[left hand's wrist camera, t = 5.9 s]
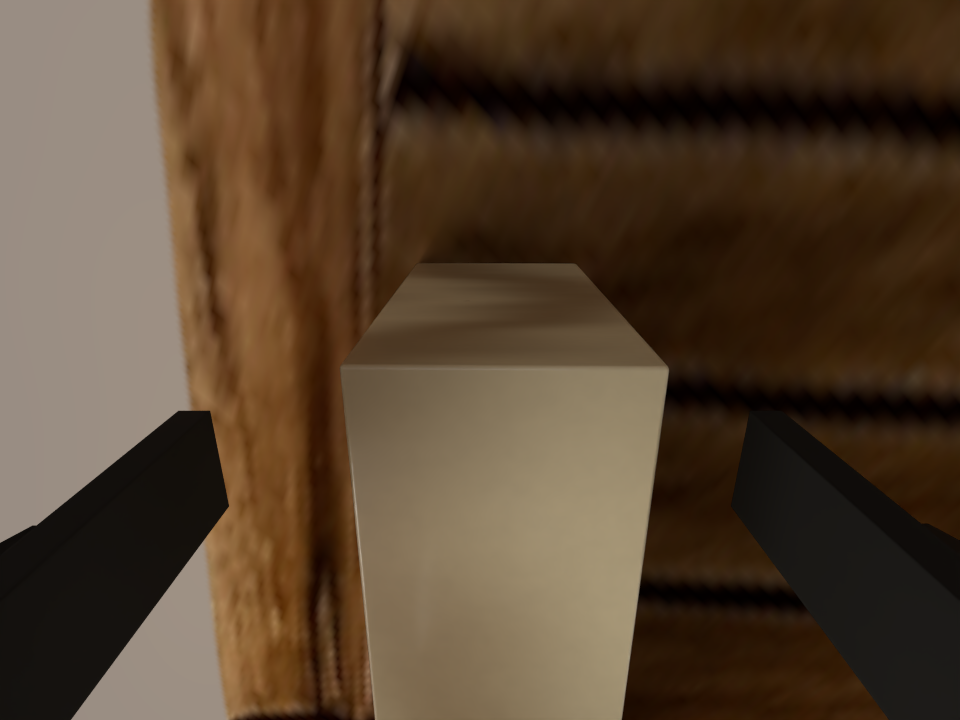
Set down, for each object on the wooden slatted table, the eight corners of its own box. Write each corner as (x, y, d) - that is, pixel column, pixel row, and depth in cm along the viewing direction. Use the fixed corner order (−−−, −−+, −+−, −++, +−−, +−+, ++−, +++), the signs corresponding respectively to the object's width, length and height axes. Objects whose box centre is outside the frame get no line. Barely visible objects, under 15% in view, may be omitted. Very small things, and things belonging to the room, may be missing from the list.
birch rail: (576, 263, 16) (670, 367, 8) (542, 800, 25) (568, 1118, 17) (416, 262, 16) (338, 365, 8) (439, 798, 25) (414, 1114, 17)
